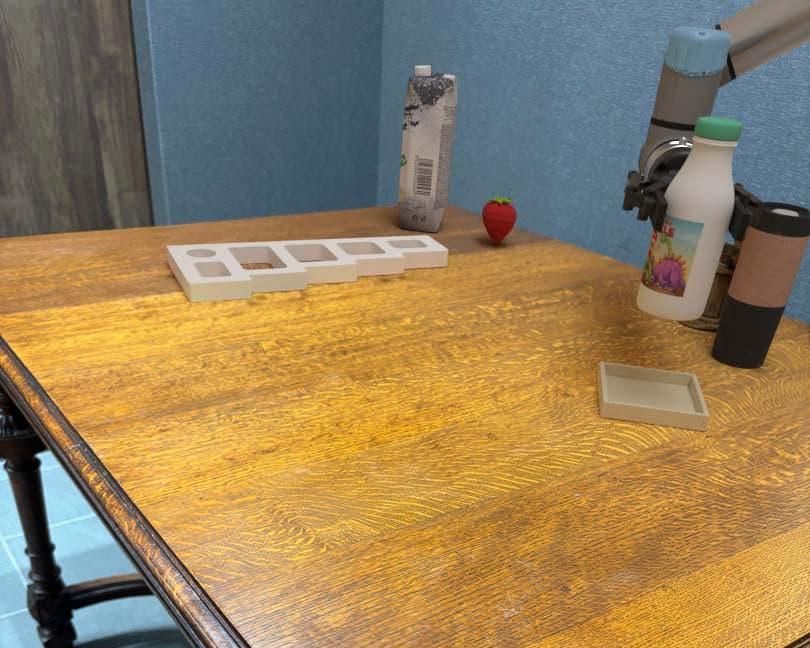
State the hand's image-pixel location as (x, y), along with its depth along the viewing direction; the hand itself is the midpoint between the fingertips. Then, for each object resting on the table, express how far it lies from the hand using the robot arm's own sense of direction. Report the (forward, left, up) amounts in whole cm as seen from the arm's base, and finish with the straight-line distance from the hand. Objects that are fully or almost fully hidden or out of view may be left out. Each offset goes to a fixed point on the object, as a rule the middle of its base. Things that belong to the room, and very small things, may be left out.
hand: (701, 222), depth 84 cm
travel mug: (-14, -23, -22) cm, 35 cm away
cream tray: (0, -4, -22) cm, 22 cm away
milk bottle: (0, -5, -11) cm, 12 cm away
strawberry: (+23, -65, -22) cm, 72 cm away
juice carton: (+38, -72, -22) cm, 84 cm away
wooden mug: (-12, -35, -22) cm, 43 cm away
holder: (+49, -36, -22) cm, 64 cm away
